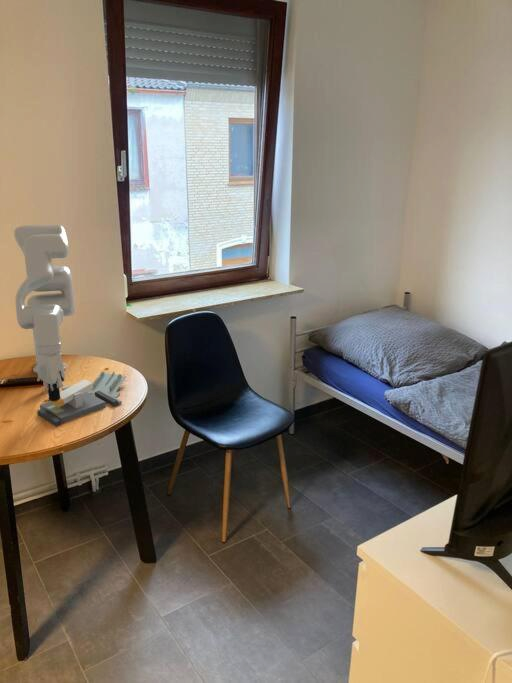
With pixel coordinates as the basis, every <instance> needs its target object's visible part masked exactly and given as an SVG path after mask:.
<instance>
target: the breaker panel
mask: <svg viewBox="0 0 512 683" xmlns="http://www.w3.org/2000/svg"><path fill="white" fill-rule="evenodd" d="M69 387H70V385H66V386H63V387H61V391H63V390H65V389H66V388H69ZM106 404H107V403H106V402H105V401H103V400H101V399H99V398H97V397H96V396H95V395H94V394H90V393H88V392H85V393H84V394H81V392H79V393H76V394H74V399H73V400H71V401H69V402H67V403H66V404H65V405H63V406H61V407H59V408H58V407H56V406H54V405H53V404H51V403H50V401H47V402H44V403H41V404H39V410H40V409H44V410H45V411H47V412H49V413H50V414H52V415H53V416H55V417H56V418H58V419H60V420H61V425H62V424H64V423H66V422H67V423H68V422H70V421H72V420H74V419H75V420H76V419H78V418H80V417H82V416H85V415H87V414H88V415H89V414H91V413H93V412H94V413H95V412H97V411H99V410H102V409H104V408H107V405H106Z"/></svg>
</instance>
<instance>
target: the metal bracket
mask: <svg viewBox="0 0 512 683" xmlns="http://www.w3.org/2000/svg"><path fill="white" fill-rule="evenodd" d="M126 378H127V375H122V374H121V373H118V374H115V371H113V372H112V373H106V372H104V371H101V372H100V373H99V374H98V375H97V377H96V378H95V379H94V381H93V382H92V384H93V387H94V388H93V389H91V390H89V391H87V392H88V393H90V394H92V395H94V396H95V392H96V391H104V392H105V393H107V394H109V395H111V396H113V397H115V398H117V399H118V398H119V396H120V394H121V392H120V391H118V390H119V388H120V387H121V385H122V384H123V382H124V381H125V380H126Z"/></svg>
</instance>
